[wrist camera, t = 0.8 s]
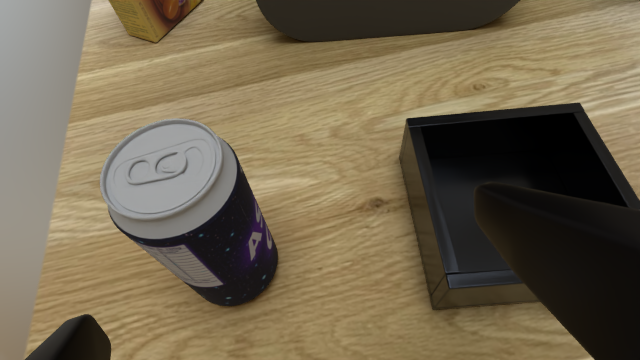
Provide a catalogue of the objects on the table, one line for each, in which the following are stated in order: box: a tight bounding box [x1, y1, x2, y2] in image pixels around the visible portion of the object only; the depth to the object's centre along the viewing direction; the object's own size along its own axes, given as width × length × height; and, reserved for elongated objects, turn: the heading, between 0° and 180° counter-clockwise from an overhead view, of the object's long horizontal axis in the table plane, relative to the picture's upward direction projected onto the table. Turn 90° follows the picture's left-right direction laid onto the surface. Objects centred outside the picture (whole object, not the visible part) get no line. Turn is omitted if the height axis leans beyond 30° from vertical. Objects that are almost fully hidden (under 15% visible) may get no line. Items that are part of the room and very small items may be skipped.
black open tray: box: [399, 103, 640, 310], centre depth 23 cm, size 12×12×4 cm
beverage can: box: [100, 119, 278, 306], centre depth 20 cm, size 6×6×12 cm
